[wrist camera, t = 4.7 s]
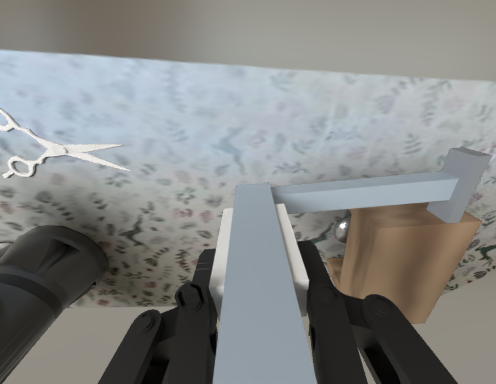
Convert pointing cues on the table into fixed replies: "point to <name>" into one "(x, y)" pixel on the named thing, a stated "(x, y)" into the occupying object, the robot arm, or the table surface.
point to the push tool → (277, 267)
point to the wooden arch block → (401, 255)
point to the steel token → (342, 229)
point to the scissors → (52, 150)
